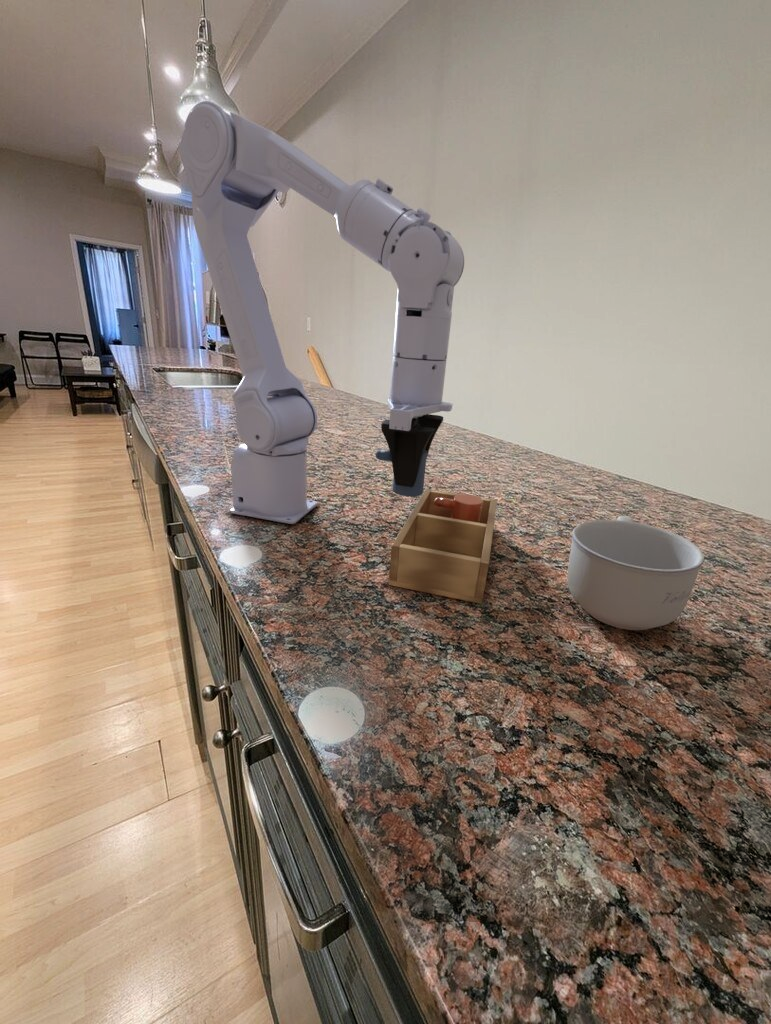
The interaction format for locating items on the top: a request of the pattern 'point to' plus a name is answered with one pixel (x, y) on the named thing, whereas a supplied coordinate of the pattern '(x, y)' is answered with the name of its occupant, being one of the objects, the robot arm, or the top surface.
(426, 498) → the caddy
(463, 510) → the terracotta scoop
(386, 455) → the blue scoop
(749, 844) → the top surface
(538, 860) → the top surface
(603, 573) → the teacup
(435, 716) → the top surface
